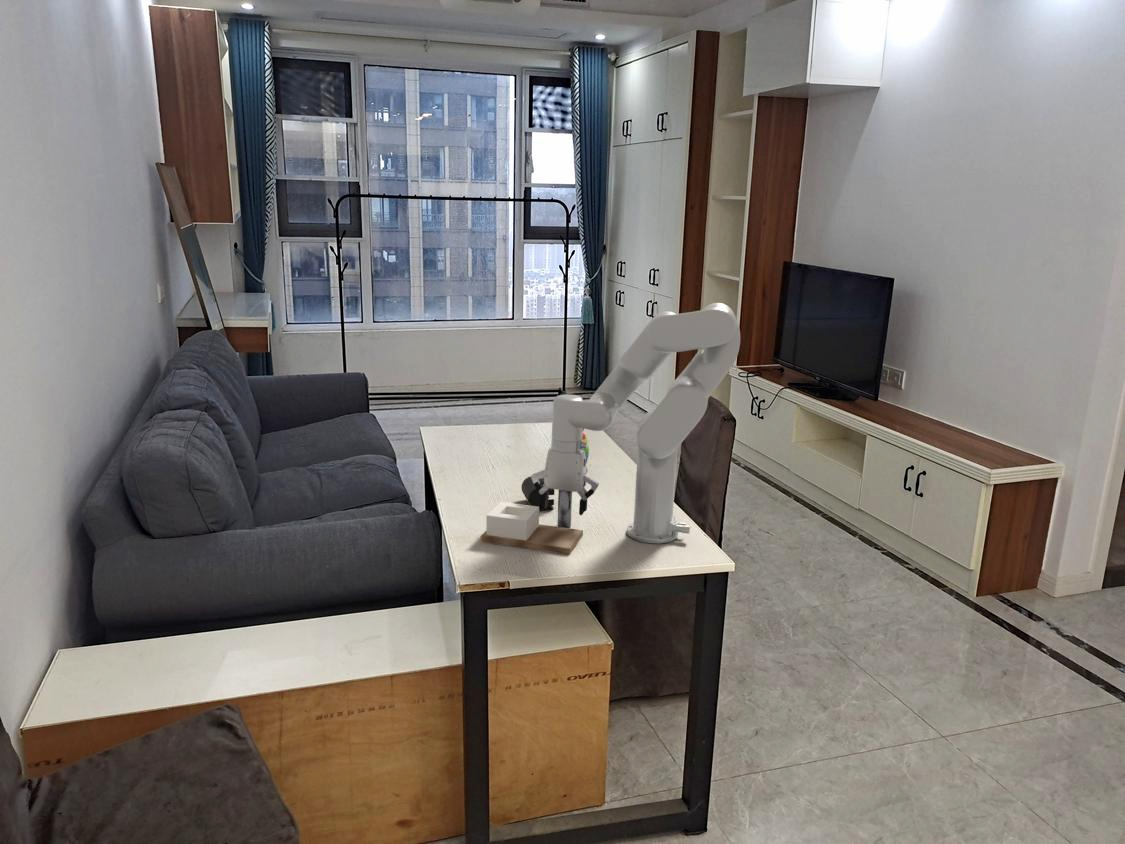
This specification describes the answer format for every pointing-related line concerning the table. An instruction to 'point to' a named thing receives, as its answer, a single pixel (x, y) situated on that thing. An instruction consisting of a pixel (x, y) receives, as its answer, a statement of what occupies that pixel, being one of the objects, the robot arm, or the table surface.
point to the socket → (512, 521)
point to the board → (542, 539)
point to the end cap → (536, 494)
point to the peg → (564, 508)
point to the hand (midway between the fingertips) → (563, 510)
